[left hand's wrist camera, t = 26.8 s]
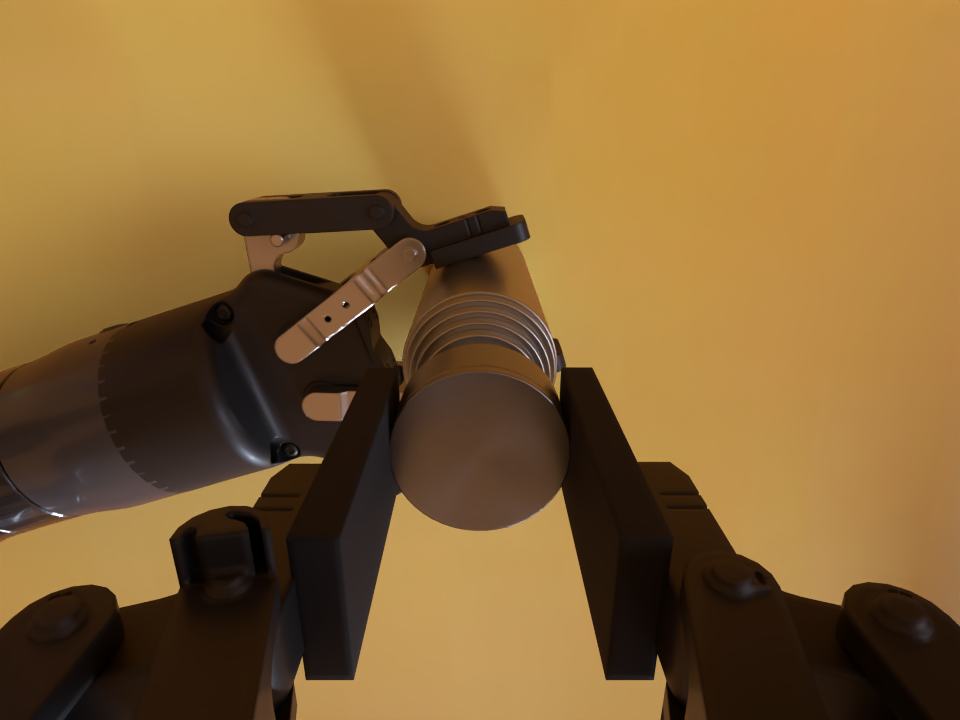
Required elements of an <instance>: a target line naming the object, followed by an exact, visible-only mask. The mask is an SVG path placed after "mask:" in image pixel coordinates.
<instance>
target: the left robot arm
mask: <svg viewBox="0 0 960 720" xmlns="http://www.w3.org/2000/svg"><path fill="white" fill-rule="evenodd" d="M399 404H400V391H399V372H398V368H367V370H366V372H365V374H364V376H363V378H362V380H361V382H360V384H359V386H358V388H357V390H356V393H355V395H354V397H353V399H352V401H351V403H350V405H349V407H348V409H347V411H346V413H345V415H344V418H343V420H342V422H341V424H340V426H339V428H338V430H337V432H336V434H335V436H334V438H333V441H332V443H331V445H330V447H329V449H328V451H327V453H326V455H325V457H324V459H323V461H322V464H289V465H288V466H286V467H285V468H284V469H282V470H281V471H279V472H278V473H277V474H275V475H274V476H273V477H271V479H270V480H269V482H268V484H267V485H266V487H265V489H264V490H263V492H262V494H261V497H259V499H258V500H257V502H256V503H255V505H254V507H253V508H252V507H248V506H227V507H223V508H218V509H213V510H209V511H207V512H205V513H202V514H200V515H198V516H195V517H193V518H191V519H190V520H189V521H187V522H186V523H184V524H183V525H181V526H180V527H179V528H178V529H177V530H176V531H175V533H174V534H173V535H172V537H171V538H170V539H169V541H170V545H171V550H172V554H173V558H174V563H175V567H176V571H177V576H178V580H179V585H180V589H179V592H178V593H177V594H175V595H171V596H168V597H165V598H161V599H157V600H153V601H149V602H144V603H140V604H135V605H131V606H126V607H122V608H119V606H118V603H117V599H116V595H115V594H113V593H112V592H111V591H110V590H109V589H108V588H106V587H101V586H96V585H84V586H74V587H70V588H67V589H63V590H60V591H57V592H54V593H51V594H49V595H47V596H45V597H43V598H41V599H39V600H37V601H35V602H33V603H31V604H29V605H28V606H27V607H26V608H24V609H23V610H22V611H20V612H19V613H18V614H17V615H15V616H14V617H13V618H12V619H10V620H9V621H8V622H7V623H6V624H5V625H4V626H3V627H2V628H1V629H0V720H296V712H297V701H296V694H295V688H294V679H295V676H296V673H297V670H298V667H299V664H300V661H301V658H302V656H303V663H304V670H305V677H306V680H354V676H355V672H356V668H357V663H358V659H359V655H360V650H361V646H362V642H363V637H364V633H365V629H366V624H367V620H368V616H369V611H370V607H371V603H372V598H373V594H374V589H375V585H376V581H377V576H378V572H379V568H380V563H381V559H382V555H383V550H384V546H385V542H386V537H387V533H388V529H389V524H390V520H391V516H392V511H393V507H394V503H395V498H396V494H397V490H398V485H397V483H396V481H395V479H394V476H393V473H392V470H391V458H390V435H391V430H392V427H393V424H394V420H395V417H396V414H397V410H398V407H399ZM560 405H561V408H562V412H563V415H564V418H565V422H566V425H567V429H568V432H569V436H570V452H569V467H568V472H567V475H566V478H565V480H564V482H563V484H562V486H561V487H562V491H563V496H564V500H565V504H566V509H567V513H568V517H569V522H570V526H571V530H572V535H573V539H574V543H575V548H576V552H577V556H578V561H579V565H580V569H581V574H582V578H583V582H584V587H585V591H586V595H587V600H588V604H589V608H590V613H591V617H592V622H593V626H594V630H595V635H596V639H597V643H598V648H599V652H600V656H601V661H602V665H603V669H604V674H605V678H606V680H654V674H655V667H656V660H657V654H658V657H659V659H660V662H661V665H662V668H663V671H664V674H665V677H666V680H667V681H666V688H665V694H664V701H663V707H662V714H661V720H960V626H959V625H958V624H957V623H956V622H955V621H954V620H953V619H952V618H951V617H950V616H948V615H947V614H946V613H945V612H943V611H942V610H941V609H939V608H938V607H937V606H936V605H934V604H933V603H932V602H930V601H928V600H926V599H924V598H922V597H920V596H919V595H917V594H915V593H913V592H911V591H908V590H905V589H902V588H899V587H895V586H892V585H889V584H882V583H872V582H866V583H861V584H856V585H853V586H852V587H851V588H850V589H848V590H847V591H846V592H845V594H844V597H843V601H842V604H841V606H840V605H835V604H831V603H826V602H822V601H818V600H813V599H809V598H804V597H800V596H797V595H793V594H790V593H787V592H784V591H782V590H781V588H780V586H779V585H778V583H777V581H776V580H775V578H774V577H773V575H772V574H771V573H770V572H768V571H767V570H766V569H765V568H763V567H762V566H761V565H760V564H758V563H757V562H755V561H752V560H750V559H748V558H746V557H744V556H742V555H739V554H736V553H735V551H734V549H733V548H732V546H731V544H730V543H729V541H728V539H727V538H726V536H725V534H724V533H723V531H722V530H721V528H720V526H719V525H718V523H717V521H716V520H715V518H714V516H713V515H712V513H711V511H710V510H709V509H707V505H706V503H705V502H704V500H703V498H702V497H701V495H699V492H698V490H697V489H696V487H695V485H694V484H693V482H692V480H691V479H690V477H689V476H688V475H687V474H686V473H684V472H683V471H681V470H680V469H679V468H677V467H676V466H675V465H673V464H672V463H671V462H637V460H636V458H635V456H634V454H633V452H632V450H631V448H630V446H629V443H628V441H627V439H626V437H625V435H624V433H623V431H622V429H621V427H620V425H619V423H618V421H617V418H616V416H615V414H614V412H613V410H612V408H611V406H610V404H609V402H608V400H607V398H606V395H605V393H604V391H603V389H602V387H601V385H600V383H599V381H598V379H597V377H596V375H595V372H594V370H593V368H561V384H560Z"/></svg>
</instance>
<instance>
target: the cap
mask: <svg viewBox="0 0 960 720" xmlns="http://www.w3.org/2000/svg"><path fill="white" fill-rule="evenodd" d="M569 452H570V436H569V432H568V429H567V425H566V422H565V418H564V415H563V412H562V408H561V405H560V402H559V398H558V395H557V393H556V390H555V388H554V386H553V384H552V383H551V381H550V379H549V378H548V376H547V375H546V374H545V373H544V371H543V370H542V369H541V368H540V367H539V366H538V365H536V364H535V363H534V362H533V361H531V360H530V359H529V358H527V357H526V356H524V355H522V354H520V353H518V352H516V351H514V350H511V349H508V348H505V347H501V346H497V345H490V344H469V345H462V346H458V347H455V348H451V349H449V350H446V351H444V352H441V353H439V354H438V355H436V356H434V357H432V358H431V359H430V360H428V361H427V362H426V363H424V364H423V365H422V366H421V367H420V368H419V369H418V370H417V371H416V372H415V373H414V375H413V376H412V377H411V379H410V380H409V382H408V384H407V385H406V387H405V389H404V392H403V394H402V397H401V400H400V404H399V407H398V410H397V414H396V417H395V420H394V424H393V427H392V430H391V435H390V458H391V470H392V473H393V476H394V479H395V481H396V483H397V485H398V486H399V488H400V490H401V492H402V493H403V494H404V496H405V497H406V498H407V499H408V500H409V501H410V503H411V504H412V505H413V506H414V507H416V508H417V509H418V510H419V511H421V512H422V513H423V514H425V515H426V516H428V517H430V518H431V519H433V520H435V521H437V522H440V523H442V524H444V525H447V526H450V527H454V528H458V529H463V530H472V531H488V530H496V529H501V528H506V527H509V526H512V525H515V524H518V523H520V522H522V521H524V520H526V519H528V518H530V517H532V516H533V515H535V514H536V513H538V512H539V511H540V510H542V509H543V508H544V507H545V506H546V505H547V504H548V503H549V502H550V501H551V500H552V499H553V498H554V496H555V495H556V494H557V492H558V491H559V489H560V488H561V486H562V484H563V482H564V480H565V478H566V475H567V472H568V467H569Z"/></svg>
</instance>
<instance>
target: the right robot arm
mask: <svg viewBox="0 0 960 720" xmlns="http://www.w3.org/2000/svg"><path fill="white" fill-rule="evenodd" d="M229 222H230V225H231V226H232V228H233V229H234V230H235V231H236V232H237V233H238V234H240V235H242V236H244V239H245V244H246V249H247V254H248V260H249V265H250V270H251V273H250V274H248V275H247V276H246V277H245V278H244V279H243V280H242V281H241V282H240V284H239V285H238V286H237V287H236V288H235V289H233V290H231V291H228V292H225V293H222V294H219V295H216V296H213V297H210V298H207V299H204V300H201V301H198V302H194V303H191V304H188V305H185V306H182V307H179V308H176V309H173V310H170V311H167V312H164V313H161V314H157V315H154V316H151V317H148V318H145V319H142V320H139V321H136V322H133V323H130V324H129V323H127V324H120V325H116V326H112V327H109V328H106V329H103V331H101V332H100V333H99V334H96V335H93V336H90V337H87V338H84V339H81V340H78V341H76V342H73V343H70V344H68V345H66V346H64V347H61V348H59V349H57V350H55V351H53V352H52V353H50V354H48V355H46V356H44V357H42V358H40V359H37V360H35V361H32V362H30V363H27V364H23V365H20V366H17V367H14V368H11V369H8V370H5V371H2V372H0V542H2V541H4V540H6V539H8V538H10V537H12V536H15V535H18V534H21V533H24V532H27V531H31V530H34V529H37V528H40V527H43V526H47V525H50V524H54V523H57V522H61V521H64V520H68V519H71V518H75V517H78V516H81V515H86V514H91V513H95V512H102V511H110V510H117V509H124V508H130V507H134V506H138V505H142V504H146V503H149V502H153V501H156V500H159V499H163V498H166V497H170V496H173V495H177V494H180V493H184V492H187V491H191V490H195V489H198V488H202V487H205V486H209V485H212V484H215V483H219V482H222V481H226V480H229V479H233V478H236V477H240V476H243V475H247V474H250V473H254V472H257V471H261V470H264V469H268V468H272V467H275V466H278V465H280V464H283V463H285V462H288V461H290V460H293V459H295V458H298V457H302V456H316V457H322V458H324V457H325V455H326V453H327V451H328V449H329V447H330V445H331V443H332V441H333V438H334V436H335V434H336V432H337V430H338V428H339V426H340V424H341V422H342V420H343V418H344V415H345V413H346V411H347V409H348V407H349V405H350V403H351V401H352V399H353V397H354V395H355V393H356V390H357V388H358V386H359V384H360V382H361V380H362V378H363V376H364V374H365V372H366V370H367V368H398V372H399V391H400V400H401V397H402V394H403V392H404V389H405V387H406V384H405V380H404V375H403V366H402V361H396V360H395V357H394V354H393V352H392V349H391V348H390V347H389V345H388V344H387V343H386V341H385V340H384V339H383V337H382V336H381V334H380V326H379V317H378V314H377V311H376V309H375V306H374V304H375V303H376V302H377V301H378V300H380V299H381V298H382V297H383V296H384V295H385V294H386V293H387V292H388V291H390V290H391V289H392V288H394V287H395V286H396V285H397V284H399V283H400V282H401V281H403V280H404V279H405V278H407V277H408V276H409V275H410V274H412V273H413V272H414V271H416V270H417V269H418V268H420V267H423V266H426V265H429V264H432V263H434V265H435V268H436V269H438V268H441V267H445V266H448V265H451V264H454V263H456V262H459V261H462V260H466V259H470V258H473V257H476V256H479V255H482V254H486V253H489V252H492V251H495V250H498V249H501V248H505V247H508V246H511V245H514V244H517V243H520V242H523V241H525V240H527V239H529V238H530V235H529V231H528V228H527V224H526V221H525V218H524V216H523V215H517V216H513V217H509V218H508V217H507V214H506V210H505V207H498V206H489V207H486V208H483V209H480V210H477V211H474V212H470V213H468V214H464V215H461V216H458V217H455V218H452V219H449V220H446V221H443V222H440V223H437V224H433V225H423V224H420V223H418V222H416V221H415V220H414V219H413V218H412V217H411V216H410V214H409V213H408V212H407V211H406V209H405V208H404V207H403V206H402V203H401V200H400V198H399V196H398V195H397V194H396V193H395V192H394V191H392V190H388V189H381V190H363V191H346V192H328V193H311V194H293V195H275V196H263V197H259V198H255V199H251V200H248V201H245V202H242V203H238V204H236V205H235V206H233V207H232V209H231V210H230V213H229ZM357 230H374V232H375V233H376V234H377V235H378V236H379V238H380V239H381V240H382V241H383V243H384V244H385V245H386V246H387V247H386V248H385V249H384V250H382V251H381V252H380V253H379V254H377V255H376V256H374V257H373V258H371V259H370V260H369V261H367V262H366V263H365V264H364V265H362V266H361V267H360V268H358V269H357V270H356V271H355V272H353V273H352V274H351V275H350V276H348V277H347V278H346V279H345V280H343V281H342V282H341V283H336V282H333V281H330V280H326V279H323V278H320V277H317V276H314V275H311V274H307V273H304V272H301V271H298V270H295V269H292V268H288V267H285V266H282V265H281V259H282V256H283V255H284V253H289V252H291V251H293V250H294V249H296V248H298V247H299V246H301V245H302V243H303V242H304V239H305V233H321V232H339V231H357ZM553 341H554V344H555V348H556V352H557V372H559V371H561V368H565V367H566V363H565V360H564V356H563V353H562V349H561V347H560V344H559V341H558V339H555V338H553ZM400 493H401V490H400V488H399V486H398V490H397V494H396V495H398V494H400Z"/></svg>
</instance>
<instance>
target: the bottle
mask: <svg viewBox="0 0 960 720" xmlns="http://www.w3.org/2000/svg"><path fill="white" fill-rule="evenodd" d="M469 344H490V345H497V346H501V347H505V348H508V349H511V350H514V351H516V352H518V353H520V354H522V355H524V356H526V357H527V358H529V359H530V360H531V361H533V362H534V363H535V364H536V365H538V366H539V367H540V368H541V369H542V370H543V371H544V373H545V374H546V375H547V376H548V378H549V379H550V381H551V383H552V384H553V386H554V382H555V378H556V373H557V352H556V348H555V344H554V341H553V338H552V335H551V332H550V330H549V327H548V324H547V321H546V318H545V316H544V313H543V310H542V307H541V304H540V301H539V299H538V296H537V293H536V290H535V287H534V285H533V282H532V279H531V276H530V273H529V271H528V268H527V265H526V262H525V259H524V257H523V255H522V253H521V251H520V249H519V248H518V247H517V245H516V244H514V245H511V246H508V247H505V248H501V249H498V250H495V251H492V252H489V253H486V254H482V255H479V256H476V257H473V258H470V259H466V260H462V261H459V262H456V263H454V264H451V265H448V266H445V267H441V268H438V269H436V268H435V265H434V264H433V267H432V270H431V272H430V275H429V278H428V281H427V284H426V286H425V289H424V292H423V295H422V298H421V300H420V303H419V306H418V309H417V312H416V314H415V317H414V320H413V323H412V326H411V328H410V331H409V334H408V337H407V340H406V342H405V347H404V351H403V359H402V366H403V375H404V380H405V384H406V385H407V384H408V382H409V380H410V379H411V377H412V376H413V375H414V373H415V372H416V371H417V370H418V369H419V368H420V367H421V366H422V365H423V364H424V363H426V362H427V361H428V360H430V359H431V358H432V357H434V356H436V355H438V354H439V353H441V352H444V351H446V350H449V349H451V348H455V347H458V346H462V345H469Z"/></svg>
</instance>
